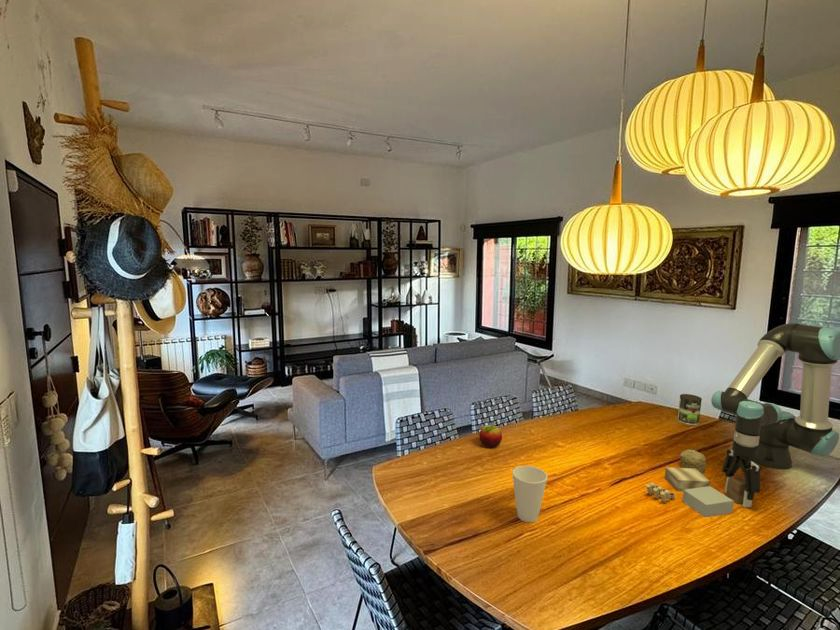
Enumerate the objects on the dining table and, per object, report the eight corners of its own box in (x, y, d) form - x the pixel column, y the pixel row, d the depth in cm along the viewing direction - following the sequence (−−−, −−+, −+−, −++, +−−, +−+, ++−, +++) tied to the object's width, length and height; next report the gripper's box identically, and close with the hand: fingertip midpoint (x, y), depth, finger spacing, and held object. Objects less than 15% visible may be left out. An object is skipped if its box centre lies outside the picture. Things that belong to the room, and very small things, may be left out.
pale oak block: (694, 479, 182) (695, 468, 181) (708, 493, 172) (710, 481, 172) (664, 478, 183) (665, 467, 182) (677, 492, 173) (678, 480, 172)
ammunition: (663, 493, 162) (676, 488, 166) (645, 484, 169) (658, 479, 173) (662, 505, 163) (675, 500, 167) (644, 495, 170) (657, 490, 173)
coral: (710, 472, 188) (712, 455, 186) (693, 475, 185) (695, 458, 184) (691, 462, 196) (693, 446, 195) (674, 464, 194) (676, 448, 193)
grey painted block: (708, 498, 169) (709, 486, 168) (732, 513, 159) (733, 500, 158) (682, 502, 166) (683, 489, 165) (704, 517, 156) (706, 504, 156)
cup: (538, 530, 148) (541, 486, 145) (505, 519, 154) (507, 476, 151) (549, 513, 158) (551, 471, 155) (517, 502, 164) (519, 462, 161)
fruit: (505, 443, 213) (506, 424, 211) (496, 452, 204) (497, 431, 202) (484, 438, 218) (485, 419, 217) (475, 446, 209) (475, 426, 208)
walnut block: (739, 496, 170) (741, 477, 169) (749, 504, 165) (752, 484, 164) (726, 496, 170) (729, 477, 168) (736, 504, 165) (739, 484, 163)
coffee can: (702, 426, 237) (705, 400, 234) (681, 424, 238) (684, 399, 236) (694, 418, 247) (696, 394, 244) (674, 417, 248) (676, 393, 246)
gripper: (715, 431, 174) (708, 484, 177) (758, 456, 153) (749, 516, 156) (734, 431, 174) (726, 484, 178) (779, 456, 153) (770, 516, 157)
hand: (737, 499), depth 167 cm, fingers open, 8 cm apart
